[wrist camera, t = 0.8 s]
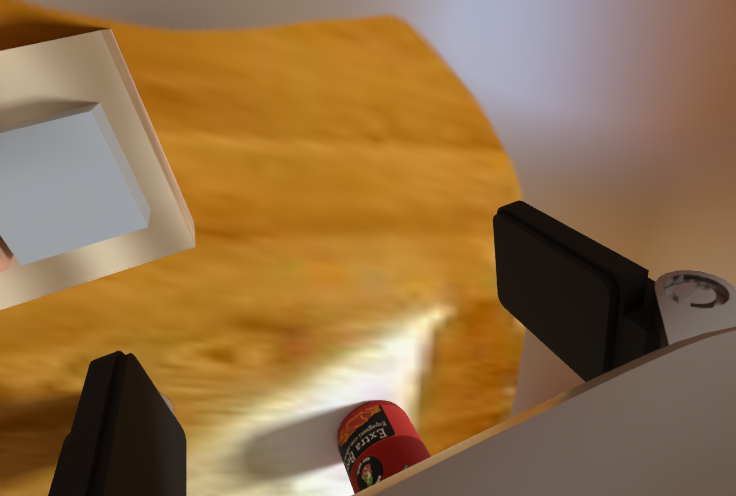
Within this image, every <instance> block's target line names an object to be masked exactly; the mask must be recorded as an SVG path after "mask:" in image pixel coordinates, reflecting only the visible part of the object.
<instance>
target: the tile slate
mask: <svg viewBox="0 0 736 496" xmlns="http://www.w3.org/2000/svg"><path fill="white" fill-rule="evenodd" d="M150 211H151V209H150V207H149V205H148V203H147V201H146V199H145V197H144V195H143V193H142V191H141V188H140V186H139V184H138V182H137V180H136V178H135V176H134V174H133V172H132V170H131V168H130V165H129V163H128V161H127V159H126V157H125V155H124V153H123V151H122V149H121V147H120V144H119V142H118V140H117V138H116V136H115V134H114V132H113V130H112V128H111V126H110V124H109V121H108V119H107V117H106V115H105V113H104V111H103V109H102V107H101V105H100V103H95V104H91V105H87V106H83V107H79V108H74V109H70V110H66V111H62V112H58V113H54V114H50V115H45V116H41V117H37V118H33V119H29V120H25V121H21V122H16V123H12V124H8V125H4V126H0V236H1V237H2V238H3V240H4V241H5V243H6V244H7V246H8V247H9V249H10V250H11V251H12V253H13V254H14V256H15V257H16V259H17V260H18V262H19V263H20V264H21V266H22V265H26V264H29V263H32V262H35V261H39V260H42V259H45V258H49V257H52V256H55V255H58V254H62V253H65V252H68V251H71V250H75V249H78V248H81V247H84V246H88V245H91V244H94V243H97V242H101V241H104V240H107V239H111V238H114V237H117V236H120V235H124V234H127V233H130V232H133V231H137V230H140V229H143V228H146V227H148V224H149V218H150Z"/></svg>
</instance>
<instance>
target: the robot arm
mask: <svg viewBox="0 0 736 496" xmlns="http://www.w3.org/2000/svg"><path fill="white" fill-rule="evenodd" d="M493 228H494V244H495V259H496V274H497V290H498V297H499V300H500V302H501V304H502V305H503V306H504V308H505V309H507V310H508V311H509V312H510V313H511V314H512V315H513V316H514V317H515V318H516V319H518V320H519V321H520V322H521V323H522V324H523V325H524V326H525V327H526V328H527V329H528V330H530V331H531V332H532V333H533V334H534V335H535V336H536V337H537V338H538V339H539V340H540V341H542V342H543V343H544V344H545V345H546V346H547V347H548V348H549V349H550V350H551V351H553V352H554V353H555V354H556V355H557V356H558V357H559V358H560V359H561V360H562V361H564V362H565V363H566V364H567V365H568V366H569V367H570V368H571V369H572V370H573V371H574V372H575V373H577V374H578V375H579V376H580V377H581V378H582V379H583V380H584V381H585V383H584V384H581V385H579V386H577V387H575V388H573V389H571V390H569V391H567V392H564V393H562V394H560V395H558V396H556V397H554V398H552V399H550V400H548V401H546V402H544V403H542V404H539V405H537V406H535V407H533V408H531V409H529V410H527V411H525V412H523V413H521V414H519V415H516V416H514V417H512V418H510V419H508V420H506V421H504V422H502V423H500V424H498V425H496V426H494V427H492V428H489V429H487V430H485V431H483V432H481V433H479V434H477V435H475V436H473V437H471V438H469V439H467V440H465V441H463V442H461V443H459V444H456V445H454V446H452V447H450V448H448V449H446V450H444V451H442V452H440V453H438V454H436V455H434V456H432V457H430V458H428V459H426V460H424V461H421V462H419V463H417V464H415V465H413V466H411V467H409V468H407V469H405V470H403V471H401V472H399V473H397V474H395V475H393V476H391V477H389V478H387V479H385V480H382V481H380V482H378V483H376V484H374V485H372V486H370V487H368V488H366V489H364V490H362V491H360V492H358V493H356V494H354V495H352V496H736V289H735V288H734V286H733V285H731V284H730V283H728V282H727V281H726V280H724V279H722V278H719V277H717V276H715V275H712V274H708V273H704V272H700V271H691V270H680V271H673V272H669V273H665V274H664V275H662V276H660V277H659V278H658V279H657V281H656V282H655V281H653V280H651V279H650V278H648V272H649V270H647V269H645V268H643V267H641V266H639V265H638V264H636V263H634V262H632V261H630V260H629V259H627V258H625V257H623V256H621V255H620V254H618V253H616V252H614V251H612V250H610V249H609V248H607V247H605V246H603V245H601V244H599V243H597V242H596V241H594V240H592V239H590V238H588V237H587V236H585V235H583V234H581V233H579V232H578V231H576V230H574V229H572V228H570V227H568V226H566V225H565V224H563V223H561V222H559V221H557V220H556V219H554V218H552V217H550V216H548V215H547V214H545V213H543V212H541V211H539V210H537V209H536V208H533V207H532V206H530V205H528V204H527V203H525V202H523V201H516V202H513V203H510V204H508V205H505V206H502V207H500V208H499V209H498V211H497V214H496V215H495V216H494V218H493ZM48 496H186V437H185V433H184V431H183V429H182V427H181V425H180V424H179V422H178V421H177V419H176V418H175V416H174V415H173V413H172V411H171V410H170V408H169V407H168V405H167V404H166V402H165V401H164V399H163V398H162V396H161V395H160V393H159V392H158V390H157V389H156V387H155V386H154V384H153V383H152V381H151V380H150V378H149V377H148V375H147V374H146V372H145V371H144V369H143V367H142V366H141V364H140V363H139V361H138V360H137V358H136V357H135V356H134V355H133V354H132V353H129V354H127V355H125V354H124V353H123V352H121V351H116V352H114V353H111V354H108V355H106V356H103V357H100V358H98V359H95V360H93V361H91V363H90V365H89V369H88V372H87V376H86V379H85V383H84V386H83V390H82V394H81V397H80V401H79V404H78V408H77V411H76V415H75V419H74V422H73V426H72V429H71V433H70V434H69V435H68V436H67V437H66V439H65V441H64V443H63V446H62V450H61V453H60V457H59V460H58V464H57V467H56V471H55V474H54V477H53V481H52V484H51V488H50V491H49V495H48Z"/></svg>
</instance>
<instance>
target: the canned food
mask: <svg viewBox="0 0 736 496" xmlns="http://www.w3.org/2000/svg"><path fill="white" fill-rule="evenodd" d="M338 448H339V452H340V454H341V457H342V460H343V463H344V466H345V468H346V471H347V474H348V477H349V479H350V482H351V485H352V488H353V490H354V493H355V494H356V493H358V492H360V491H362V490H364V489H366V488H368V487H370V486H372V485H374V484H376V483H378V482H380V481H382V480H385V479H387V478H389V477H391V476H393V475H395V474H397V473H399V472H401V471H403V470H405V469H407V468H409V467H411V466H413V465H415V464H417V463H419V462H421V461H424V460H426V459H428V458H430V457H431V456H430V454H429V452H428V450H427V449H426V447H425V445H424V444H423V442H422V440H421V438H420V437H419V435H418V433H417V432H416V430H415V428H414V426H413V425H412V423H411V421H410V419H409V418H408V416H407V414H406V413H405V412H404V411H403V410H402V409H401V408H400V407H399V406H397V405H396V404H394V403H392V402H388V401H375V402H371V403H367V404H365V405H363V406H361V407H359V408H357V409H356V410H354V411H353V412H352V413H350V414H349V415H348V416H347V417H346V419H345V420H344V421H343V423H342V424H341V426H340V429H339V431H338Z"/></svg>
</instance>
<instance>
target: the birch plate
mask: <svg viewBox="0 0 736 496" xmlns="http://www.w3.org/2000/svg"><path fill="white" fill-rule="evenodd" d="M95 103H100V105H101V107H102V109H103V111H104V113H105V115H106V117H107V119H108V121H109V124H110V126H111V128H112V130H113V132H114V134H115V136H116V138H117V140H118V142H119V144H120V147H121V149H122V151H123V153H124V155H125V157H126V159H127V161H128V163H129V165H130V168H131V170H132V172H133V174H134V176H135V178H136V180H137V182H138V184H139V186H140V188H141V191H142V193H143V195H144V197H145V199H146V201H147V203H148V205H149V207H150V209H151V211H150V218H149V224H148V227H146V228H143V229H140V230H137V231H133V232H130V233H127V234H124V235H120V236H117V237H114V238H111V239H107V240H104V241H101V242H97V243H94V244H91V245H88V246H84V247H81V248H78V249H75V250H71V251H68V252H65V253H62V254H58V255H55V256H52V257H49V258H45V259H42V260H39V261H35V262H32V263H29V264H26V265H22V266H21V264H20V263H19V262H18V260H17V259H15V260H14V262H13V263H12V265H11V266H10V268H9V269H8V270H6V271H3V272H0V310H2V309H5V308H8V307H11V306H14V305H17V304H20V303H23V302H26V301H30V300H33V299H36V298H39V297H42V296H45V295H48V294H51V293H54V292H57V291H61V290H64V289H67V288H70V287H73V286H76V285H79V284H82V283H85V282H88V281H91V280H95V279H98V278H101V277H104V276H107V275H110V274H113V273H116V272H119V271H122V270H126V269H129V268H132V267H135V266H138V265H141V264H144V263H147V262H150V261H153V260H156V259H160V258H163V257H166V256H169V255H172V254H175V253H178V252H181V251H184V250H187V249H191V248H194V247H196V246H195V230H194V221H193V219H192V216H191V214H190V212H189V209H188V207H187V205H186V202H185V200H184V198H183V195H182V193H181V191H180V188H179V186H178V184H177V181H176V179H175V177H174V174H173V172H172V170H171V167H170V165H169V163H168V160H167V158H166V156H165V153H164V151H163V149H162V146H161V144H160V142H159V139H158V137H157V135H156V132H155V130H154V128H153V125H152V123H151V121H150V118H149V116H148V114H147V111H146V109H145V107H144V104H143V102H142V100H141V97H140V95H139V93H138V90H137V88H136V86H135V83H134V81H133V79H132V76H131V74H130V72H129V69H128V67H127V65H126V62H125V60H124V58H123V55H122V53H121V51H120V48H119V46H118V44H117V41H116V39H115V37H114V34H113V32H112V30H111V29H107V30H99V31H94V32H89V33H85V34H80V35H75V36H70V37H65V38H60V39H56V40H51V41H46V42H41V43H36V44H32V45H27V46H22V47H17V48H12V49H7V50H3V51H0V126H4V125H8V124H12V123H16V122H21V121H25V120H29V119H33V118H37V117H41V116H45V115H50V114H54V113H58V112H62V111H66V110H70V109H74V108H79V107H83V106H87V105H91V104H95Z"/></svg>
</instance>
